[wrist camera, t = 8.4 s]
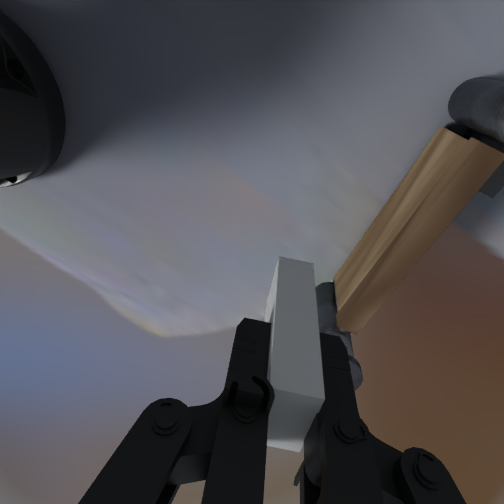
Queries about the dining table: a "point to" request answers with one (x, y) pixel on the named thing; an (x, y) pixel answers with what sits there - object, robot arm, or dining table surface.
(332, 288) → the hinge post
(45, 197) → the dining table surface
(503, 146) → the post
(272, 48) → the dining table surface
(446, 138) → the brown wooden board
